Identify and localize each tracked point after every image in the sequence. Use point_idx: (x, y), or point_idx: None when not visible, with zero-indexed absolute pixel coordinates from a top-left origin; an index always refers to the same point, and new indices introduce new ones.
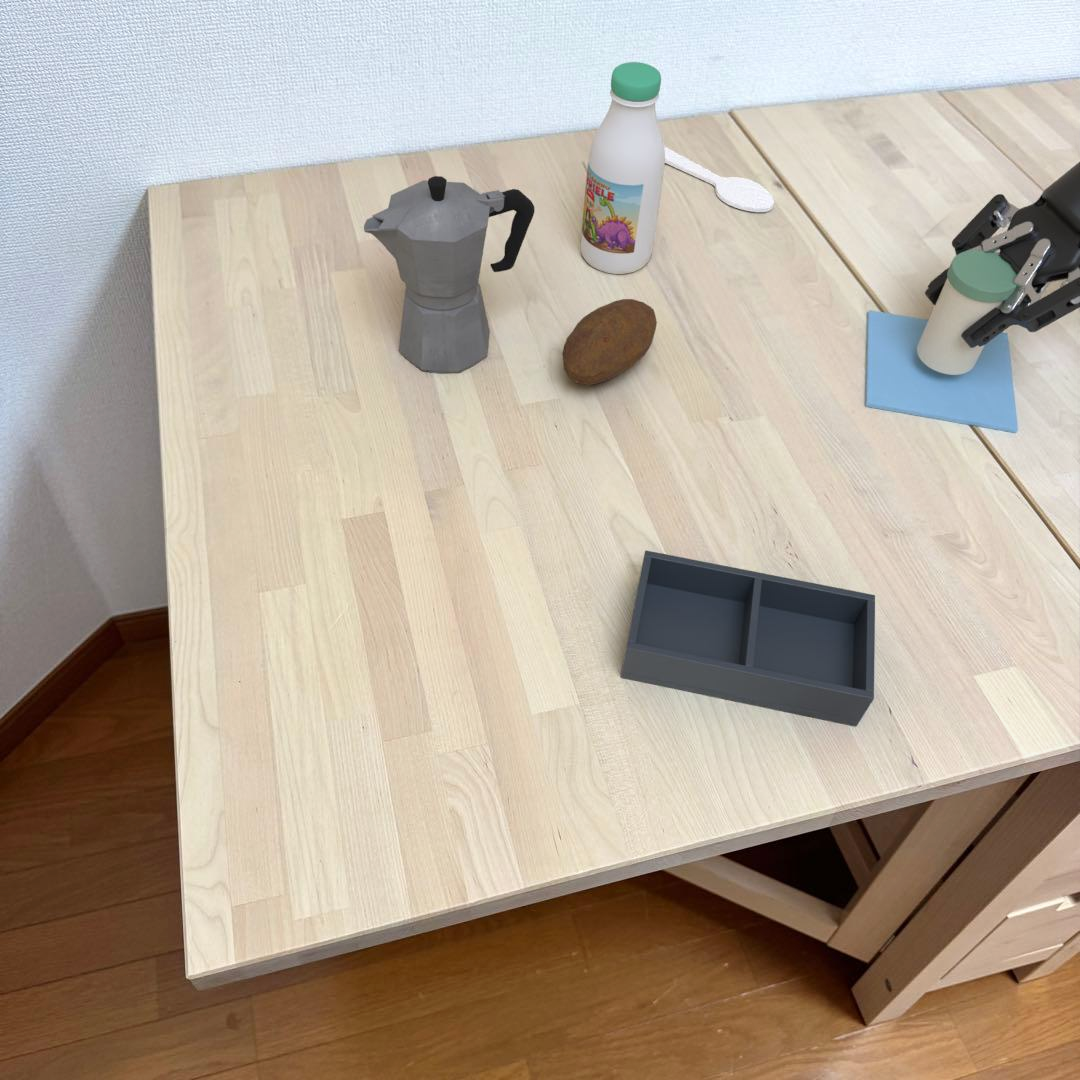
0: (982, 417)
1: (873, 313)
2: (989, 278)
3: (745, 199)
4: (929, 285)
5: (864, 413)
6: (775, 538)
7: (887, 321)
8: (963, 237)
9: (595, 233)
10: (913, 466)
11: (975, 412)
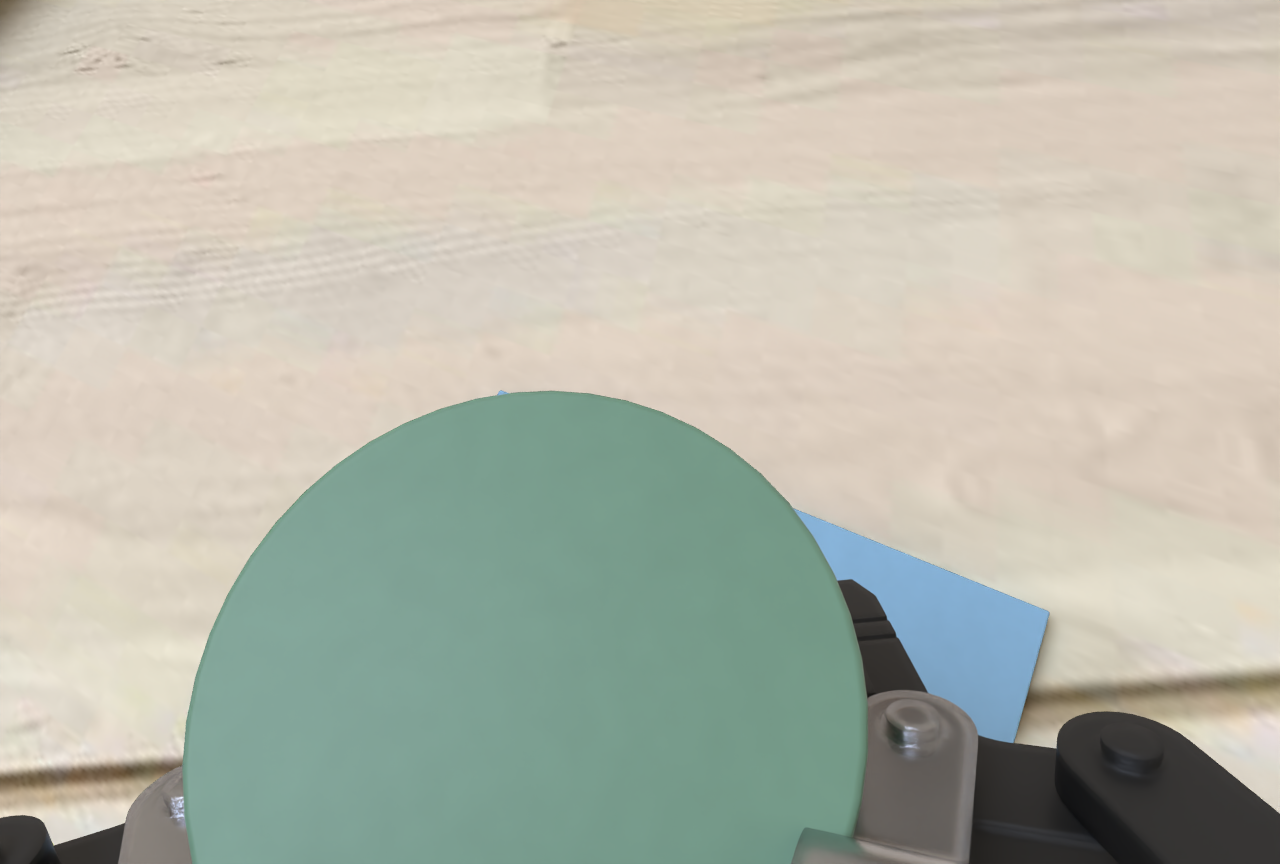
0: None
1: (1022, 621)
2: (395, 655)
3: None
4: (852, 586)
5: (475, 385)
6: (153, 44)
7: (962, 663)
8: (1165, 796)
9: None
10: (202, 446)
11: None
